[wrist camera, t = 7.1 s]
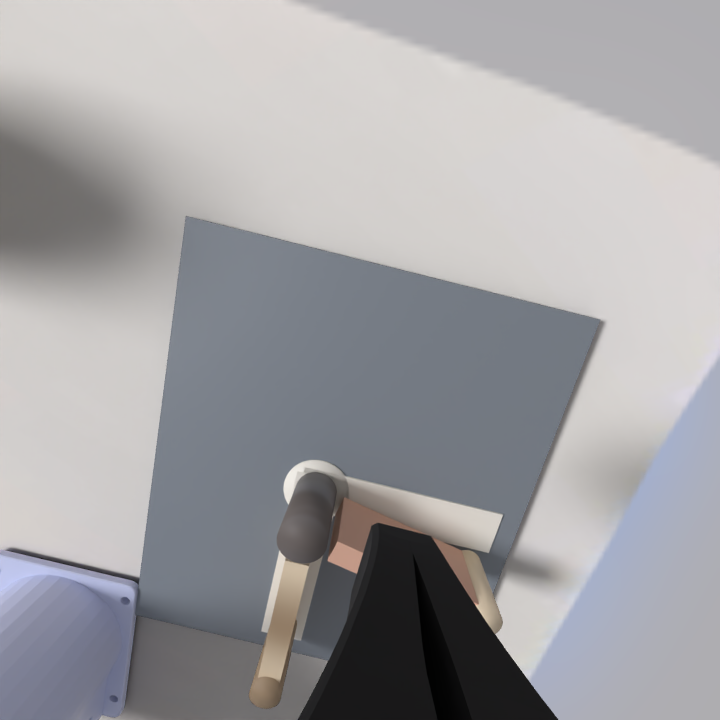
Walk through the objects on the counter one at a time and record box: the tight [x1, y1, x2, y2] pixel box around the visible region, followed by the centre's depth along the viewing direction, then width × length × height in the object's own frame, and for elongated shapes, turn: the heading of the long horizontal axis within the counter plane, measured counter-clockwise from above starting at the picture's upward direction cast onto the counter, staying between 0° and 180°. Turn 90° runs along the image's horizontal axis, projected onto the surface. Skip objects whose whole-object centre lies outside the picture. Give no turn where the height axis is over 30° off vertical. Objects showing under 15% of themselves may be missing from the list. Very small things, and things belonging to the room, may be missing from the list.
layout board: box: [135, 216, 600, 661], centre depth 18 cm, size 21×18×1 cm
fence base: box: [249, 472, 337, 709], centre depth 17 cm, size 10×2×4 cm, turn 166°
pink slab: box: [328, 497, 503, 634], centre depth 16 cm, size 8×1×3 cm, turn 64°
